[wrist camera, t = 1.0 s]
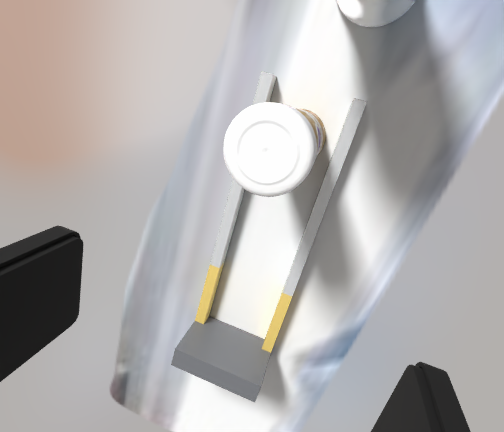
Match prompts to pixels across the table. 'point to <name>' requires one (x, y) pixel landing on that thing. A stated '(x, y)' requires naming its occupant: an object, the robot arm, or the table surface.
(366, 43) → the table surface
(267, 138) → the sprinkles bottle
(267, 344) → the guide channel
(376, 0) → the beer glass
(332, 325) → the table surface
